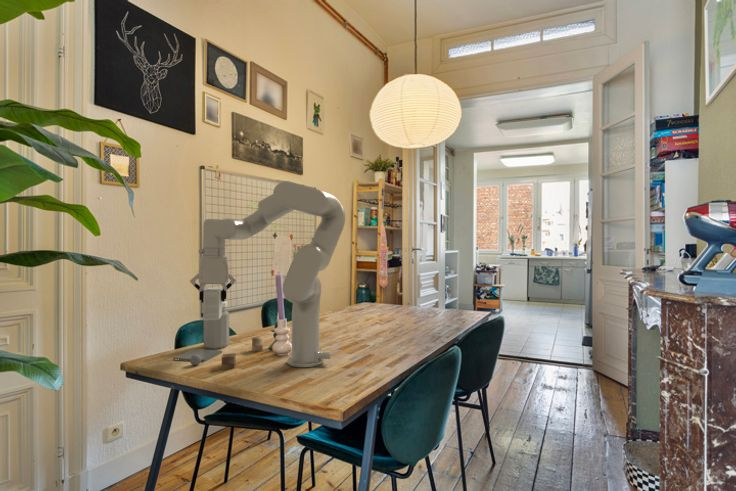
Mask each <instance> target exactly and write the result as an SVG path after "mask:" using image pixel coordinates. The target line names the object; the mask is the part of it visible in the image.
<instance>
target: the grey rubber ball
mask: <svg viewBox="0 0 736 491" xmlns="http://www.w3.org/2000/svg"><path fill="white" fill-rule="evenodd" d="M189 362H190V364H191V365H193V366H198V365H200V364H201V356H200V355H197V354H195V355H193V356H192V357H191V358H190V361H189Z"/></svg>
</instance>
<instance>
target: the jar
mask: <svg viewBox="0 0 736 491" xmlns="http://www.w3.org/2000/svg"><path fill="white" fill-rule="evenodd" d="M229 344H230V313H229V311H228V300H225V301H224V302H222V316H221V317H220V319H219V320H203V346H204V347H205V349H206V350H219V349H223V348H224V349H225V348H227V347H228V346H229Z"/></svg>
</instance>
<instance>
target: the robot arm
mask: <svg viewBox="0 0 736 491" xmlns="http://www.w3.org/2000/svg"><path fill="white" fill-rule="evenodd" d="M257 206H258V208H257V210H256V211H255V212H253V213H251V214H250V215H248V216H245V217H244V218H242V219H239V218H223V219H221V218H220V219H219V218H207V219H205V220H204V221H203V226H202V228H203V236H202V237H203V238H202V244H203V245H202V248H201V249H198V254H201V256H200V257H199V258H200V259H199V265H198V273H197V274H196V275H195V276H193V277H192V278H191V279H190V280H189V283H190V284H191V285H192V286H193V287H194V288H196V290H198V291H199V298H198V300H199V301H201V303H202V304H203V295H204V291H205V290H204V288H205V286H206V285H221V287H222V289H223V290H222V302H224V301H226V300H227V291H228V290H229V289H231V287H232V286H233V285H234V284H235V283H236V282H237V280H236V278H234V277H233V276H232V275H231V274H230V273H229V259H228V256H225V255H226V240H235V241H236V240H240V241H241V240H243V241H244V240H246V239H248V238H249V239H250V238H252V237H253V236H255V235H257V234H259V233H260V232H262V231H264V230H265V229H266V228H267V227H269V226H270V225H271V224H272V223H273V222H274V221H277V220H278V219H280V218H282V217H284V216H286V215H287V214H289V213H292V212H294V211H298V212H302V213H306V214H307V215H311V216H315V217H321V218H320V219H321V220H320V223H319V224H318V225H317V227H316V229H315V232H314V234H313V238H312V239H311V242H310V243H308V244H305V245H303V246H301V247H300V248H299V249H298V250H297V251H296V253H295V255H294V256H293V259H292V262H291V263H290V266H289V268H288V270H287V272H286V275H285V277H284V280H283V284H282V293H283V296H284V298H285V300H287V301H289V302H290V303H292V308H291V356H290V357H288V358H287V360H286V362H287V364H288V365H289V366H290V367H295V368H313V367H316V366H317V367H318V366H320V365H322V364H323V363H324V360H331V359H332V354H331V353H330V352H328V351H322V350H323V348H322V347H320V306H321V295H322V283H321V280H320V278H319V277H318V276H319V272H321V271H324V270H325V269H326V268H327V267H328V266H329V265H330V262H331V260H332V257H333V255H334V252H335V249H336V248H337V244H338V242H339V240H340V237H341V234H342V233H343V230H344V228H345V223H346V211H345V208H344V206H343V205H342V203H341V202H340V200H339V199H338V198H337V197H336V196H334V195H333V194H331V193H330V192H329V193H328V192H326V191H323V190H321V189H317V188H313V187H310V186H308V185H307V186H305V185H303V184H298V183H295V182H293V181H289V180H284V181H281V182H279V183H277V184H276V185H275V187H274V189H273V190H272V194H270V195H269V196H266V197H265V198H263V199H261V200H259V201H258V204H257ZM197 280H198V282H199V284H200V285H199V284H198V283H197V282H196V281H197ZM229 280H230V281H229Z"/></svg>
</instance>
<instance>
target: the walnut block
mask: <svg viewBox="0 0 736 491" xmlns="http://www.w3.org/2000/svg"><path fill="white" fill-rule="evenodd" d="M236 355H237V354H236V353H223V355H222V356H221V370H229V369H232V368H234V369H235V367H236V365H237V364H236V363H237V362H236V361H237V360H236V357H237V356H236Z"/></svg>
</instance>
